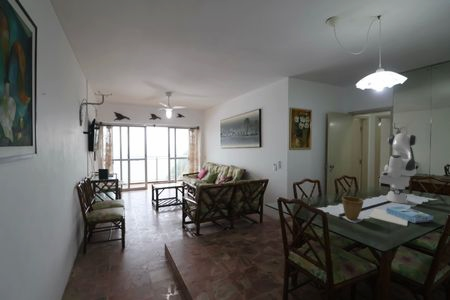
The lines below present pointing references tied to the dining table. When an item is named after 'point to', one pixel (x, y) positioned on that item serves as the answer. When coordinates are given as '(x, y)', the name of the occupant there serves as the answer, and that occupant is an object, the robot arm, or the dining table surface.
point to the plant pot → (352, 207)
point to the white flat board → (387, 217)
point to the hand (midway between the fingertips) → (393, 189)
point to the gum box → (409, 214)
